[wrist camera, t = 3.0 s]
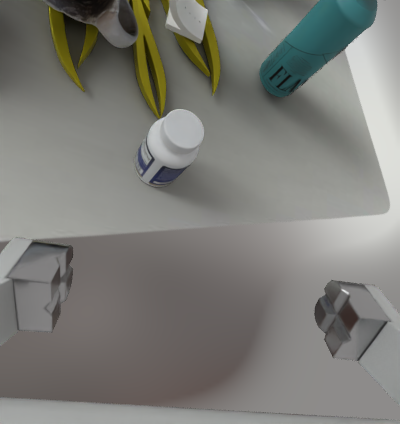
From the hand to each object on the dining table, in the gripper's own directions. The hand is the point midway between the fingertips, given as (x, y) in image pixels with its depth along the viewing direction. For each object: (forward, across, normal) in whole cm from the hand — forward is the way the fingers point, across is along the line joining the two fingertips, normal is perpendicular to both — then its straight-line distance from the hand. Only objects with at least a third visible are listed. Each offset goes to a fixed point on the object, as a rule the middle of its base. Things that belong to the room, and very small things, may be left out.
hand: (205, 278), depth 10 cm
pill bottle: (+28, +2, +8) cm, 29 cm away
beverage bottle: (+43, -13, -2) cm, 45 cm away
